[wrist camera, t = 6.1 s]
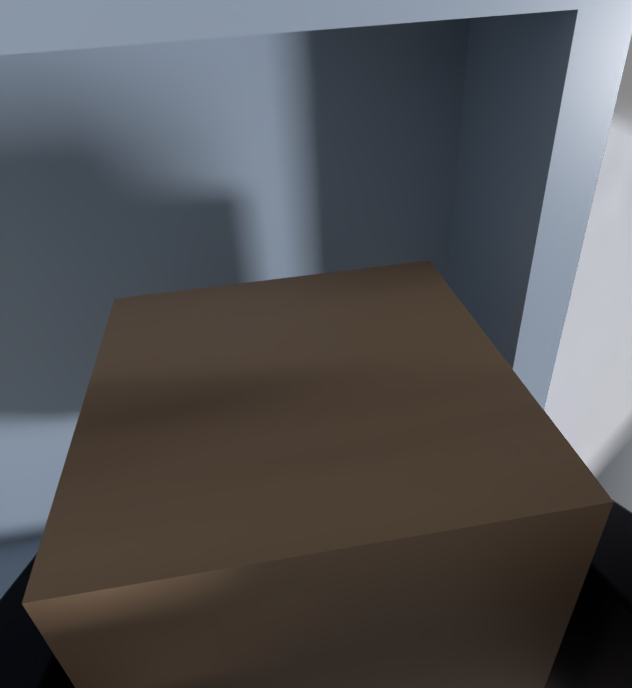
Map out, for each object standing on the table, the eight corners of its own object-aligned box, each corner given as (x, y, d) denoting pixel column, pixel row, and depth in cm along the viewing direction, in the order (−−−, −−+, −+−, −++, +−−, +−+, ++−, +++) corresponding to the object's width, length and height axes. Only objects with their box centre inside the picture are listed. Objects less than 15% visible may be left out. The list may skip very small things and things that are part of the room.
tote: (446, 474, 17) (501, 590, 14) (-148, 570, 16) (-244, 727, 12) (507, -59, 10) (657, -76, 6) (-645, 17, 8) (-1244, 47, 5)
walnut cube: (415, 473, 12) (524, 741, 8) (178, 511, 11) (158, 819, 7) (429, 260, 9) (613, 502, 5) (114, 298, 8) (22, 603, 4)
